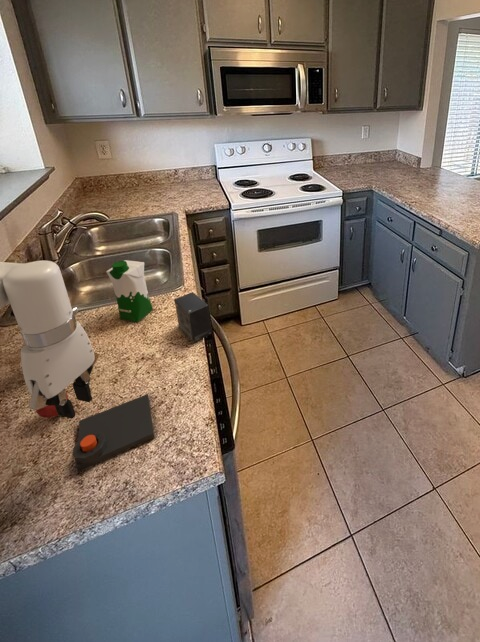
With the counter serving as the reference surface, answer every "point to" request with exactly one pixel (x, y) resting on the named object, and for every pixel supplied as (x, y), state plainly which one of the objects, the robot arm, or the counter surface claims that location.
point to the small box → (193, 317)
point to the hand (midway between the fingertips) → (76, 406)
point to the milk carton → (130, 290)
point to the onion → (48, 411)
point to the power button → (88, 443)
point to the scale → (115, 431)
